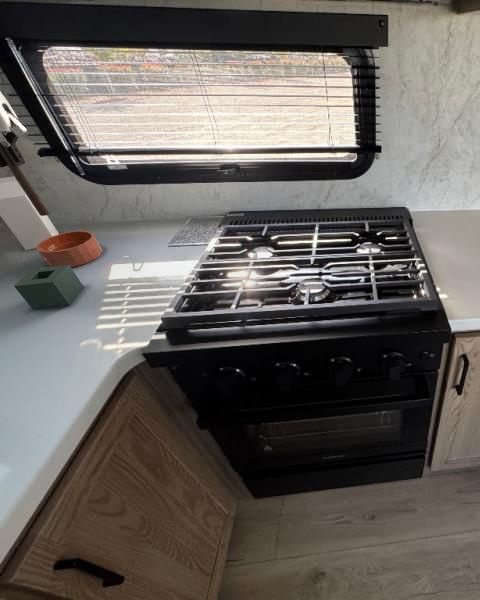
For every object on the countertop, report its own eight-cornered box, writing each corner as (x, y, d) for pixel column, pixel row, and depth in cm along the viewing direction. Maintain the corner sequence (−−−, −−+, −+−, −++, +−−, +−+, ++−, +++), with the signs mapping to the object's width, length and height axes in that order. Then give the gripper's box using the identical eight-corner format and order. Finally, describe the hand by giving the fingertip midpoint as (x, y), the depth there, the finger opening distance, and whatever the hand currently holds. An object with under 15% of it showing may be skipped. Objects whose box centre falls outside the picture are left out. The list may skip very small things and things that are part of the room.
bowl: (39, 272, 90) (25, 254, 86) (63, 250, 99) (51, 232, 95) (92, 267, 92) (81, 249, 89) (110, 246, 101) (100, 229, 98)
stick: (38, 216, 81) (-14, 138, 71) (42, 213, 83) (-8, 136, 72) (47, 215, 82) (-3, 138, 71) (51, 212, 83) (3, 136, 73)
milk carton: (58, 244, 101) (15, 180, 89) (26, 251, 98) (-23, 185, 86) (60, 235, 106) (19, 172, 94) (29, 241, 102) (-17, 177, 91)
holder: (34, 311, 78) (13, 286, 73) (51, 292, 83) (32, 268, 79) (71, 307, 79) (52, 282, 75) (85, 288, 85) (69, 264, 80)
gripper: (-126, 64, 59) (-45, 172, 71) (-17, 65, 62) (45, 169, 74) (-89, 61, 65) (-19, 161, 77) (10, 62, 68) (64, 158, 80)
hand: (12, 164), depth 75 cm, fingers closed on stick, 1 cm apart
